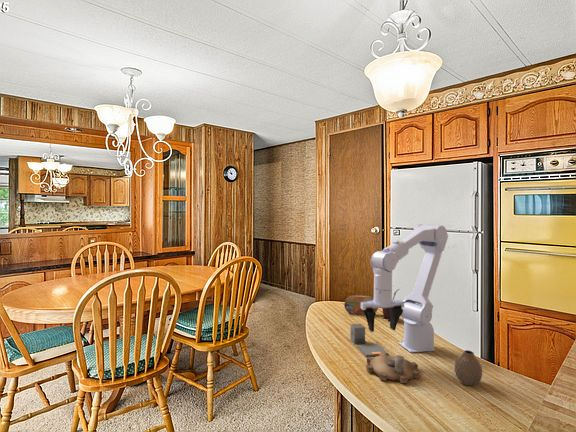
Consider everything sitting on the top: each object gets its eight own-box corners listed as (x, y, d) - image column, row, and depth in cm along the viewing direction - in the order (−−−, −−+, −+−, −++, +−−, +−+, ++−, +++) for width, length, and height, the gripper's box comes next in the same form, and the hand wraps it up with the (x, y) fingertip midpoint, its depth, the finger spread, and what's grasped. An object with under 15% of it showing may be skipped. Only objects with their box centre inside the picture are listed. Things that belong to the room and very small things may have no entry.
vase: (481, 391, 91) (482, 359, 91) (453, 384, 95) (453, 353, 94) (482, 380, 97) (483, 350, 97) (455, 373, 101) (456, 344, 100)
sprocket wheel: (404, 356, 111) (404, 340, 111) (430, 381, 96) (430, 362, 95) (358, 359, 109) (358, 342, 109) (377, 384, 93) (378, 365, 93)
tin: (344, 314, 155) (344, 295, 155) (344, 311, 158) (344, 294, 158) (377, 316, 153) (378, 297, 152) (377, 313, 156) (377, 295, 156)
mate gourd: (384, 315, 153) (385, 283, 152) (402, 319, 149) (403, 285, 148) (380, 320, 146) (380, 286, 146) (398, 324, 142) (399, 288, 142)
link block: (360, 339, 126) (360, 323, 126) (364, 343, 122) (365, 327, 122) (350, 340, 125) (350, 324, 125) (354, 344, 121) (354, 328, 121)
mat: (377, 345, 121) (377, 343, 121) (388, 354, 113) (388, 352, 113) (356, 346, 119) (356, 344, 119) (366, 356, 111) (366, 354, 111)
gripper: (396, 284, 115) (395, 324, 116) (356, 286, 112) (356, 326, 112) (408, 289, 108) (407, 331, 109) (366, 292, 105) (365, 335, 106)
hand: (382, 329), depth 110 cm, fingers open, 7 cm apart
